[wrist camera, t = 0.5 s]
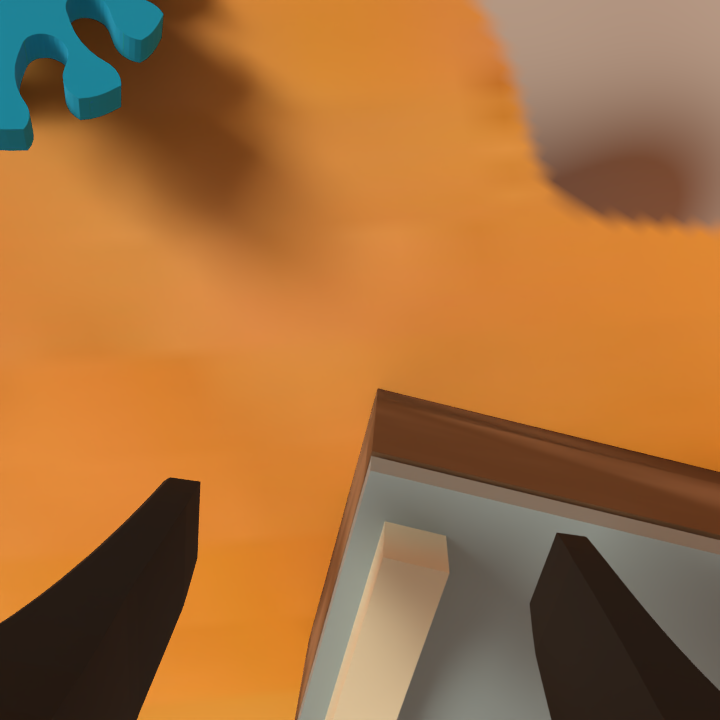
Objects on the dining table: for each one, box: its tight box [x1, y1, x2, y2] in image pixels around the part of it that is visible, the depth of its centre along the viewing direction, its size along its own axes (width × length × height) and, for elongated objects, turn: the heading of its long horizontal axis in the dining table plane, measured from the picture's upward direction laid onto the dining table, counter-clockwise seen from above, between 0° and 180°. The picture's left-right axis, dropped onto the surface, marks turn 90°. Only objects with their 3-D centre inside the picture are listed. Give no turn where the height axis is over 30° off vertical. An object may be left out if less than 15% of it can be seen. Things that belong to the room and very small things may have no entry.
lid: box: [297, 456, 720, 720], centre depth 20 cm, size 12×15×2 cm
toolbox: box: [295, 389, 720, 720], centre depth 24 cm, size 12×15×4 cm
